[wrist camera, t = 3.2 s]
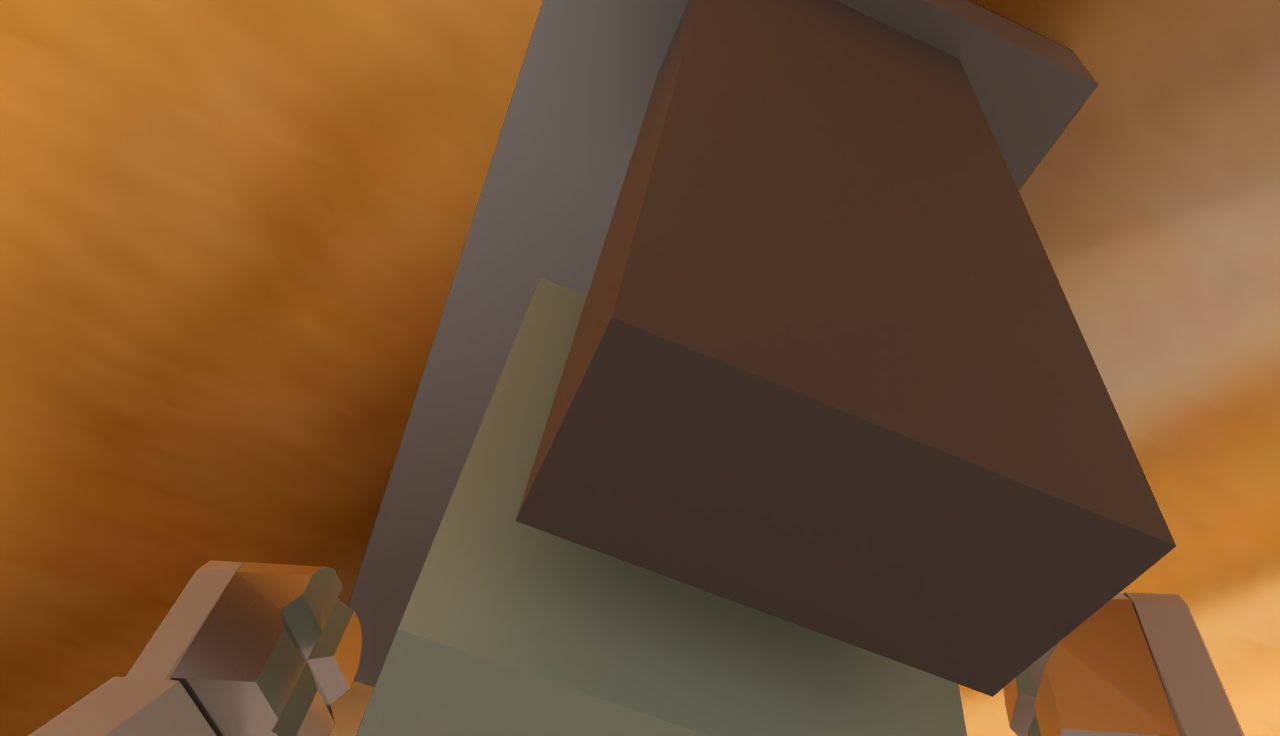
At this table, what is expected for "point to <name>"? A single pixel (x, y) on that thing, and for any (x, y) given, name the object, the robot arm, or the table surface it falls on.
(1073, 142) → the table surface
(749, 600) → the sliding block rail stand
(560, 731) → the sleeve
